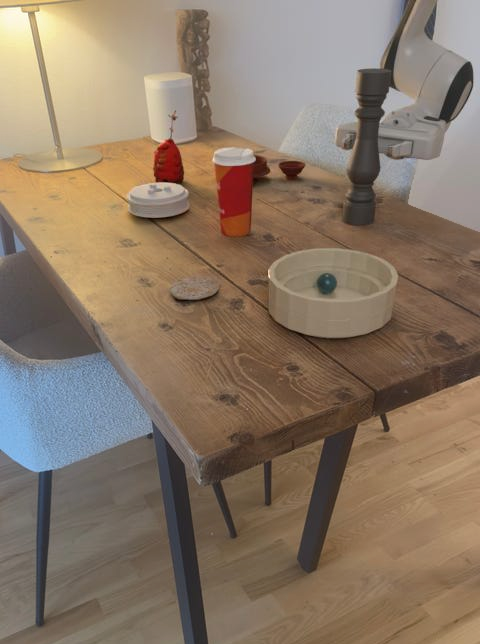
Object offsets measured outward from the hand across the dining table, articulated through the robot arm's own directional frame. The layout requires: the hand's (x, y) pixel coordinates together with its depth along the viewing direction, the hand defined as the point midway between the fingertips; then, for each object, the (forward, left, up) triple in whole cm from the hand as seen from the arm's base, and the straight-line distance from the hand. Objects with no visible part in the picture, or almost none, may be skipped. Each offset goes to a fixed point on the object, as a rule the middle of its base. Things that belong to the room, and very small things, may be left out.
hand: (367, 148), depth 103 cm
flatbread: (+30, +31, -13) cm, 46 cm away
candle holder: (0, 0, -13) cm, 13 cm away
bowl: (+10, +38, -13) cm, 42 cm away
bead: (+10, +34, -11) cm, 37 cm away
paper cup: (+24, +5, -13) cm, 28 cm away
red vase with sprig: (+40, -28, -13) cm, 51 cm away
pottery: (+18, -29, -13) cm, 36 cm away
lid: (+40, -7, -13) cm, 43 cm away
